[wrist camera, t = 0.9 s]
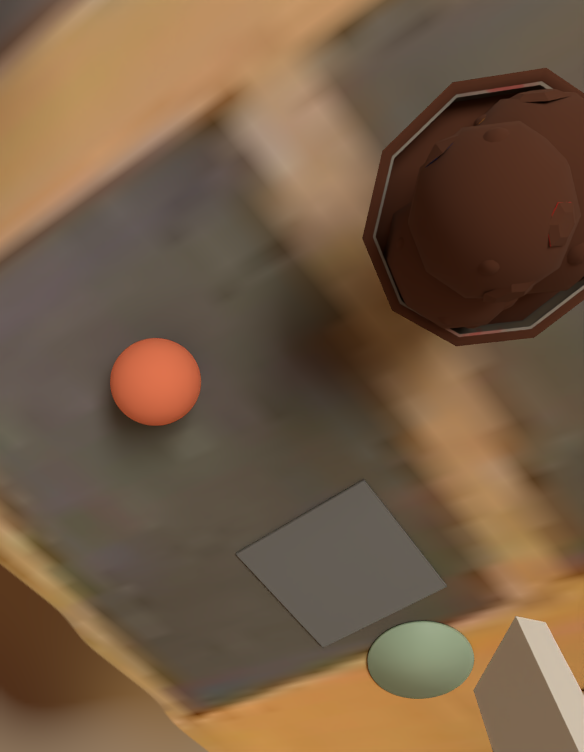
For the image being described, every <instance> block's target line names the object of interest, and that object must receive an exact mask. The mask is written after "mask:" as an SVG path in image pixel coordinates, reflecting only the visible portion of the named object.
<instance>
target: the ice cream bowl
mask: <svg viewBox="0 0 584 752" xmlns="http://www.w3.org/2000/svg"><path fill="white" fill-rule="evenodd" d="M363 241H364V243H365V246H366V248H367V250H368V253H369V255H370V258H371V260H372V263H373V265H374V267H375V270H376V272H377V275H378V277H379V279H380V282H381V284H382V287H383V289H384V292H385V294H386V296H387V299H388V301H389V304H390V306H391V309H392V310H393V311H394V312H396V313H398V314H400V315H402V316H403V317H405V318H407V319H409V320H410V321H412V322H414V323H416V324H418V325H419V326H421V327H423V328H425V329H427V330H428V331H430V332H432V333H434V334H436V335H437V336H439V337H441V338H443V339H444V340H446V341H448V342H450V343H452V344H453V345H455V346H462V345H471V344H480V343H489V342H498V341H507V340H516V339H525V338H534V337H535V336H537V335H538V334H539V333H541V332H542V331H543V330H545V329H546V328H547V327H549V326H550V325H551V324H553V323H554V322H555V321H557V320H558V319H559V318H560V317H562V316H563V315H564V314H566V313H567V312H568V311H570V310H571V309H572V308H574V307H575V306H576V305H578V304H579V303H580V302H582V301H583V300H584V93H583V92H581V91H580V90H578V89H577V88H575V87H574V86H572V85H571V84H569V83H568V82H566V81H565V80H563V79H562V78H560V77H559V76H557V75H556V74H554V73H553V72H552V71H550V70H549V69H547V68H542V69H536V70H529V71H523V72H517V73H510V74H504V75H497V76H491V77H484V78H478V79H471V80H465V81H459V82H453V83H452V84H451V85H450V86H448V87H447V88H446V89H445V90H444V91H443V92H442V93H441V94H440V95H439V96H438V97H437V98H436V99H435V100H434V101H433V102H432V103H431V104H430V105H429V106H428V107H427V108H426V109H425V110H424V111H423V112H422V113H421V114H420V115H419V116H418V117H417V118H416V119H415V120H414V121H413V122H412V123H411V124H410V125H409V126H408V127H407V128H406V129H404V130H403V131H402V132H401V133H400V134H399V135H398V136H397V137H396V138H395V139H394V140H393V141H392V142H391V143H390V144H389V145H388V146H387V147H386V148H385V149H384V150H383V151H382V156H381V160H380V164H379V169H378V173H377V177H376V182H375V186H374V190H373V195H372V199H371V203H370V208H369V212H368V216H367V221H366V225H365V230H364V234H363Z"/></svg>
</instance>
